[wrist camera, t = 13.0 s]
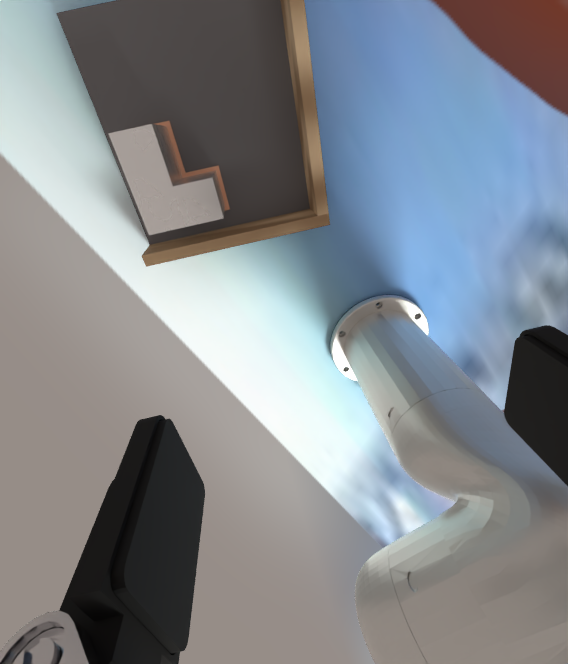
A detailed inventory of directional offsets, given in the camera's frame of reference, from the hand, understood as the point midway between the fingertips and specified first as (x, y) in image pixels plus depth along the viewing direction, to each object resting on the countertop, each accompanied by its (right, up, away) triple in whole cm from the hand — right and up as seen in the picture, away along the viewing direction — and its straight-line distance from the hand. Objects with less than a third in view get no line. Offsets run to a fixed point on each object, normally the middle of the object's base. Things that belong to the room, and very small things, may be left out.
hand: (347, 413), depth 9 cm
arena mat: (-8, +20, +20) cm, 29 cm away
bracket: (-11, +16, +21) cm, 28 cm away
